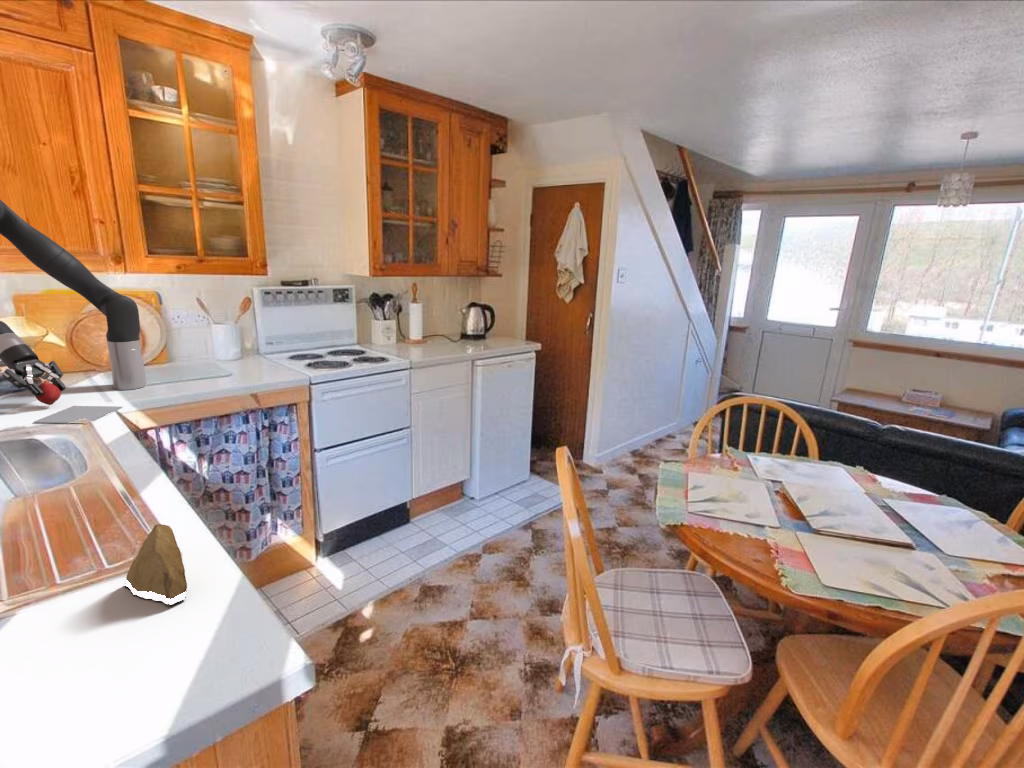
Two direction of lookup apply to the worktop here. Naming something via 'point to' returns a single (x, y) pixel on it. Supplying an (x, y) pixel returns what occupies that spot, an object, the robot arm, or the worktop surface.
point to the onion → (49, 393)
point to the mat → (78, 414)
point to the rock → (159, 564)
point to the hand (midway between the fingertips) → (52, 392)
